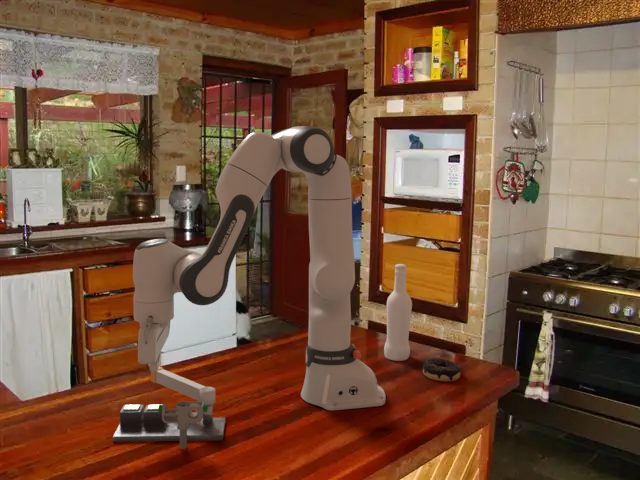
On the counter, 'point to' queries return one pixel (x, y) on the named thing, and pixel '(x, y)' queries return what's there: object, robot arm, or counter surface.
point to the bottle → (398, 318)
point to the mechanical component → (183, 416)
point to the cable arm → (184, 386)
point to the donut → (441, 370)
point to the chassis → (174, 430)
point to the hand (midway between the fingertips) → (154, 369)
